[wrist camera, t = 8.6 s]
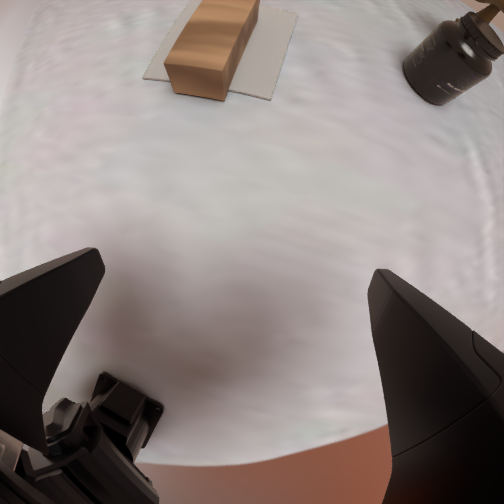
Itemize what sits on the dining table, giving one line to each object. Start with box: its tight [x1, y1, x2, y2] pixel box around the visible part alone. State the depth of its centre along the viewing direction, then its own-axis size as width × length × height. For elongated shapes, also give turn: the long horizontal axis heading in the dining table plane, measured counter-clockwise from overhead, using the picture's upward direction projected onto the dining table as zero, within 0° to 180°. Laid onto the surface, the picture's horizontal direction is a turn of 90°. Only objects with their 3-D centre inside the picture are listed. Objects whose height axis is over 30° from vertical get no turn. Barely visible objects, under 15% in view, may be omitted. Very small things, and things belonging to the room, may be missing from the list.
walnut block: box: [163, 0, 260, 101], centre depth 18 cm, size 4×4×11 cm
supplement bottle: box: [404, 12, 504, 105], centre depth 16 cm, size 7×7×12 cm
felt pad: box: [142, 0, 298, 101], centre depth 21 cm, size 13×12×1 cm
